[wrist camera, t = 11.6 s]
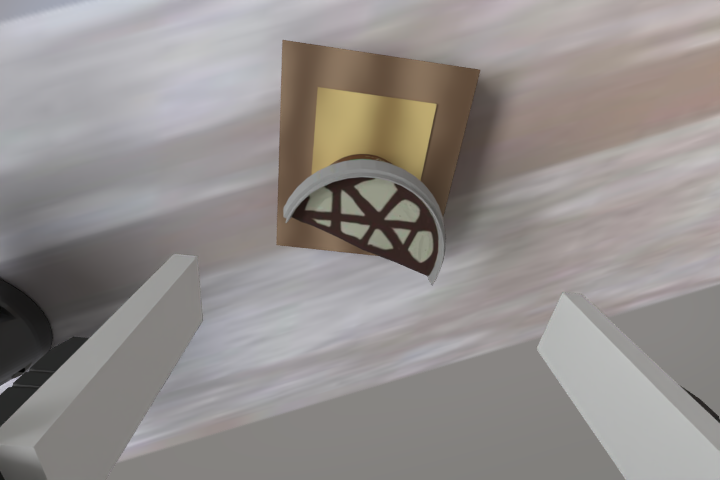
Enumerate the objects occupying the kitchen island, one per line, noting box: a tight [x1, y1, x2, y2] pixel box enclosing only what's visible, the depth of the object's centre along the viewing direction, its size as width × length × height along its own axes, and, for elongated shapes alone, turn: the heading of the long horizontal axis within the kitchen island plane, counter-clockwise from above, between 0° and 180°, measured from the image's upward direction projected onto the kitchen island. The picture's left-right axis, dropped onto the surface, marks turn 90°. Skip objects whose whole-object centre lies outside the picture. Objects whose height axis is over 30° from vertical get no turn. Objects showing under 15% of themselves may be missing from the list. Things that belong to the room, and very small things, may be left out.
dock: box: [277, 40, 480, 256], centre depth 33 cm, size 16×18×4 cm
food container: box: [283, 154, 446, 285], centre depth 27 cm, size 12×6×10 cm, turn 64°
